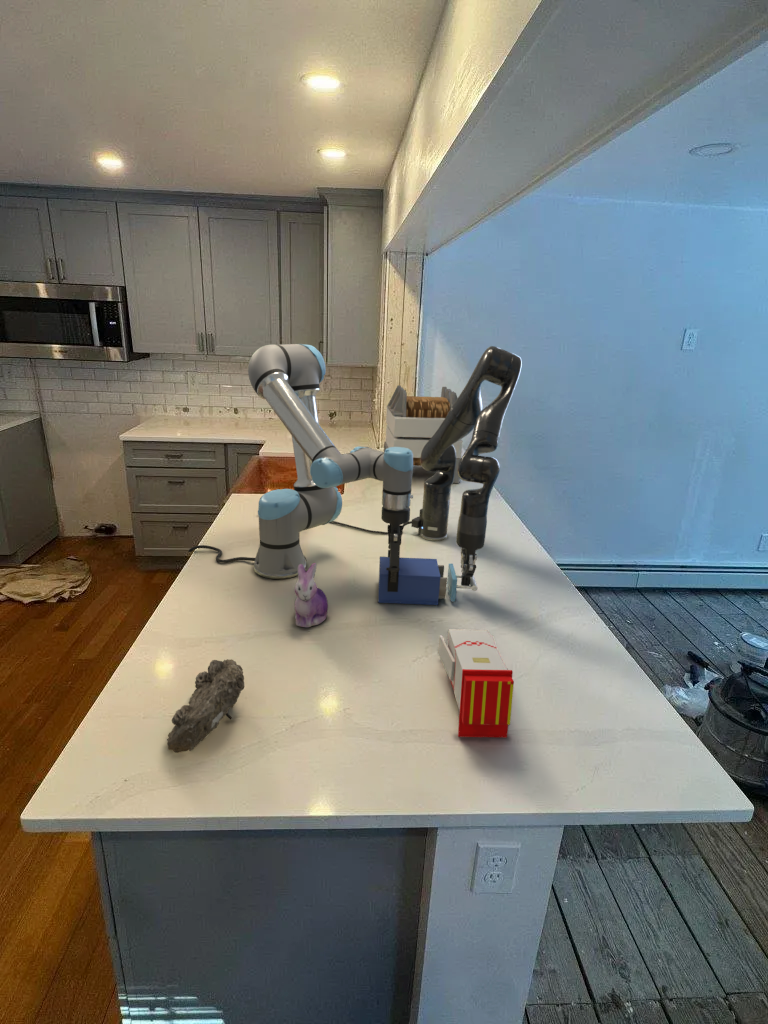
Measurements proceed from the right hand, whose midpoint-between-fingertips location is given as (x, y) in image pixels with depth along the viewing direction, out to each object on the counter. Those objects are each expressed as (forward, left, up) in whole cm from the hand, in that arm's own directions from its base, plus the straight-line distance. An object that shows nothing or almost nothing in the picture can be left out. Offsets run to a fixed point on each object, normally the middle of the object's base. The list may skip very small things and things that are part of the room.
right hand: (464, 586), depth 157 cm
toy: (+21, -37, -3) cm, 42 cm away
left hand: (-17, -12, +1) cm, 20 cm away
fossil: (-14, -75, -3) cm, 76 cm away
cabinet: (-13, -9, -3) cm, 16 cm away
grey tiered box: (-76, +98, -3) cm, 124 cm away
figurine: (-24, -36, -3) cm, 44 cm away
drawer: (-6, -4, -2) cm, 8 cm away
